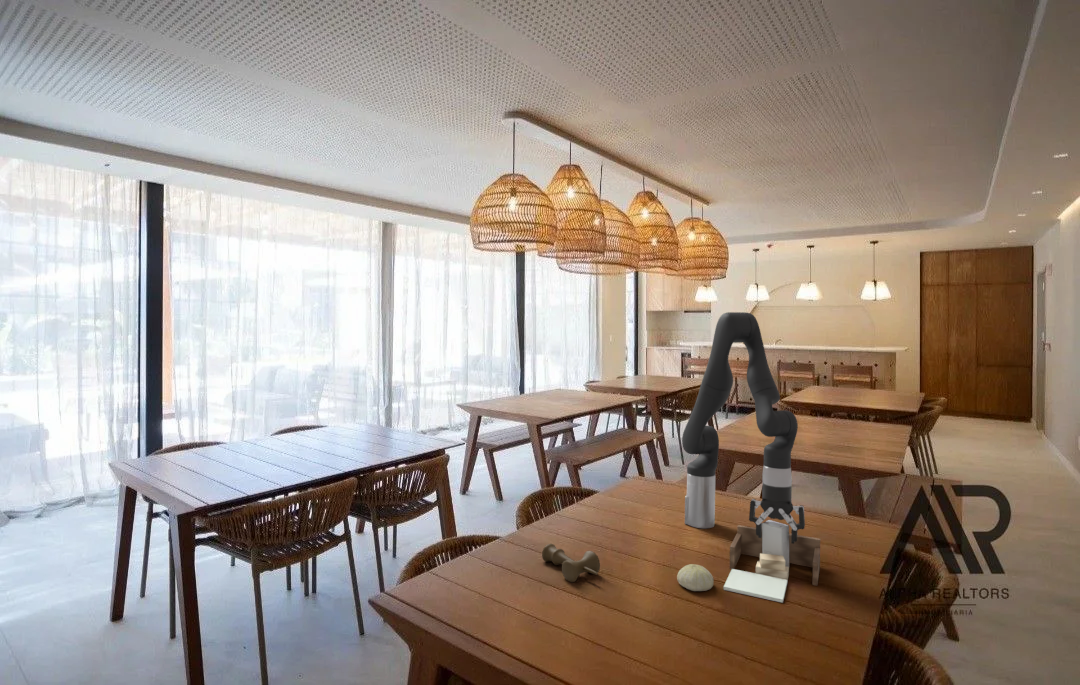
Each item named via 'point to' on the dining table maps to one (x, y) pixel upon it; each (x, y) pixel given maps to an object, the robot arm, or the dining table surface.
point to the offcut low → (772, 572)
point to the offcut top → (772, 562)
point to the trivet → (756, 585)
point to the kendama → (571, 562)
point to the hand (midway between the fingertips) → (776, 539)
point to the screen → (799, 552)
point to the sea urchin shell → (695, 578)
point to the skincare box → (775, 539)
